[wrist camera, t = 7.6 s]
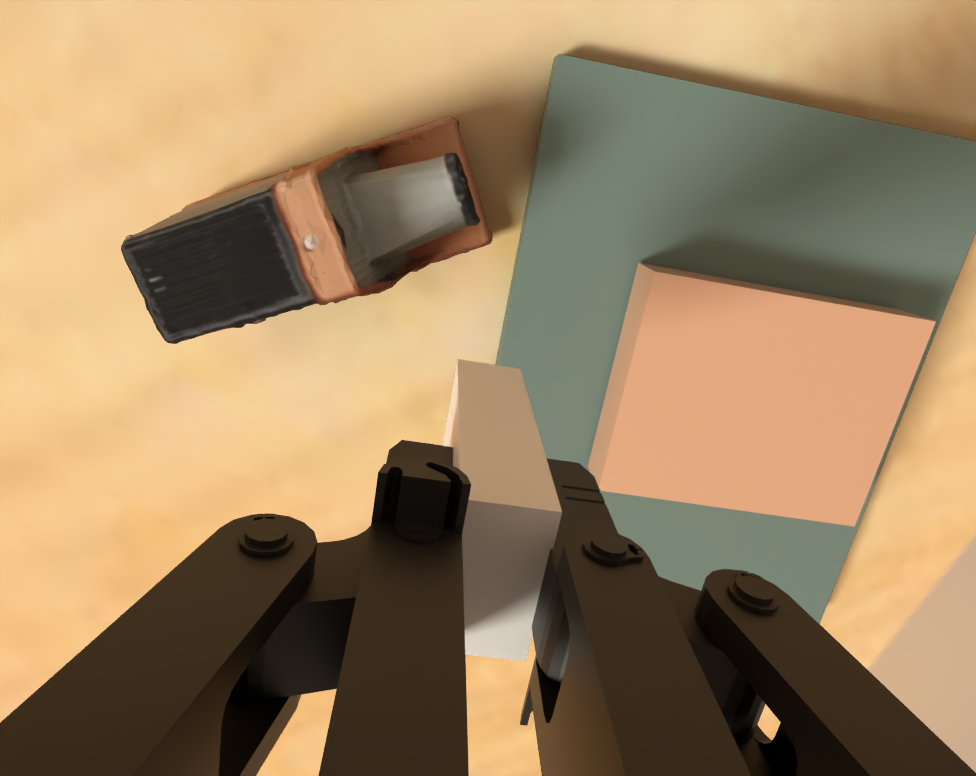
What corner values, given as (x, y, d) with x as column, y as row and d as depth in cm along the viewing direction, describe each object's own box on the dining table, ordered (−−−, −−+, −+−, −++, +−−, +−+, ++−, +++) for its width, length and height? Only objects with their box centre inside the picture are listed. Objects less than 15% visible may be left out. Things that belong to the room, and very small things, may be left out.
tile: (654, 271, 22) (936, 321, 23) (637, 261, 24) (896, 308, 25) (598, 490, 24) (854, 526, 25) (586, 464, 26) (824, 499, 27)
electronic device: (494, 240, 24) (507, 273, 17) (246, 321, 25) (161, 385, 18) (455, 115, 23) (453, 95, 16) (194, 204, 24) (80, 222, 17)
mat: (554, 58, 23) (558, 54, 22) (987, 149, 24) (1008, 148, 23) (456, 567, 29) (456, 581, 28) (807, 611, 30) (818, 626, 29)
